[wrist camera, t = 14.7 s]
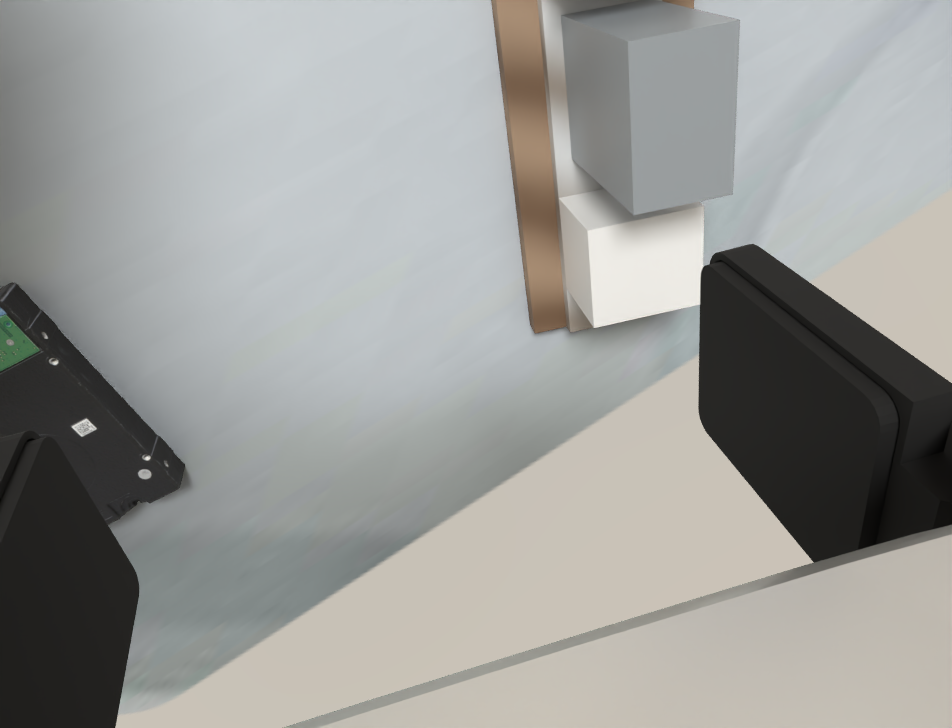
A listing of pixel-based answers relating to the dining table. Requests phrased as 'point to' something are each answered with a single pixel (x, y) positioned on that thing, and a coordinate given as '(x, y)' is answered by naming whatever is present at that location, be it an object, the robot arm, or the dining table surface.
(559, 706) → the robot arm
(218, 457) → the dining table surface
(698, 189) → the block
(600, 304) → the block
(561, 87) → the rail board
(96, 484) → the disk drive
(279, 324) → the dining table surface
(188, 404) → the dining table surface
